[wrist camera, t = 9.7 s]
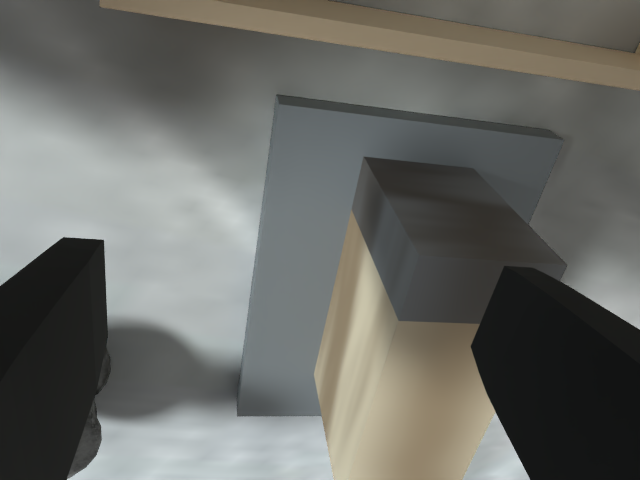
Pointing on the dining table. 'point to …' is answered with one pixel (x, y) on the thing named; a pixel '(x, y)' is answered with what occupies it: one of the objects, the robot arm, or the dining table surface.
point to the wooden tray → (405, 36)
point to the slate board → (333, 216)
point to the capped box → (415, 319)
